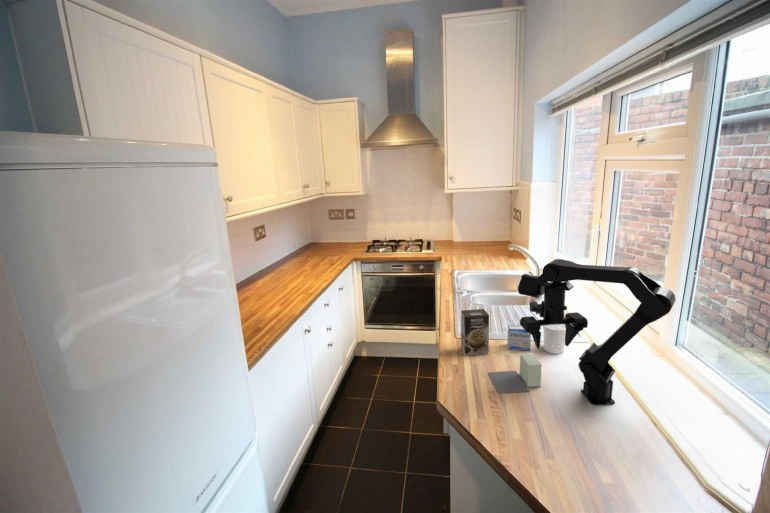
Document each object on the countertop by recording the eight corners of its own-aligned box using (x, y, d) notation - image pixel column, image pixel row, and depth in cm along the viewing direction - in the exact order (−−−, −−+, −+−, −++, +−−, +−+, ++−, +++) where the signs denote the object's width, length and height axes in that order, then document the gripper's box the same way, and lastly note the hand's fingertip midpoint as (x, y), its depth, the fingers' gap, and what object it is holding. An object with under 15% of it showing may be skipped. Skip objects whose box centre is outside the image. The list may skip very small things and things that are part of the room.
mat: (516, 371, 119) (516, 370, 119) (528, 391, 108) (528, 390, 108) (488, 373, 119) (488, 372, 119) (498, 393, 109) (498, 392, 109)
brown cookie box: (465, 356, 130) (464, 316, 126) (460, 348, 136) (460, 309, 132) (489, 354, 130) (489, 314, 126) (484, 346, 137) (484, 307, 132)
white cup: (543, 342, 136) (544, 319, 133) (566, 346, 132) (568, 322, 129) (540, 352, 130) (542, 327, 127) (564, 357, 126) (566, 331, 123)
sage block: (531, 374, 117) (532, 352, 115) (540, 387, 110) (541, 364, 108) (519, 375, 117) (520, 353, 115) (527, 387, 110) (528, 365, 108)
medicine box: (508, 349, 133) (508, 329, 131) (507, 344, 137) (507, 323, 135) (530, 351, 131) (531, 330, 129) (528, 345, 135) (529, 324, 133)
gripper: (569, 289, 114) (567, 332, 118) (513, 294, 114) (512, 337, 118) (590, 301, 103) (587, 349, 107) (528, 307, 103) (527, 354, 107)
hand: (552, 347), depth 110 cm, fingers open, 9 cm apart
